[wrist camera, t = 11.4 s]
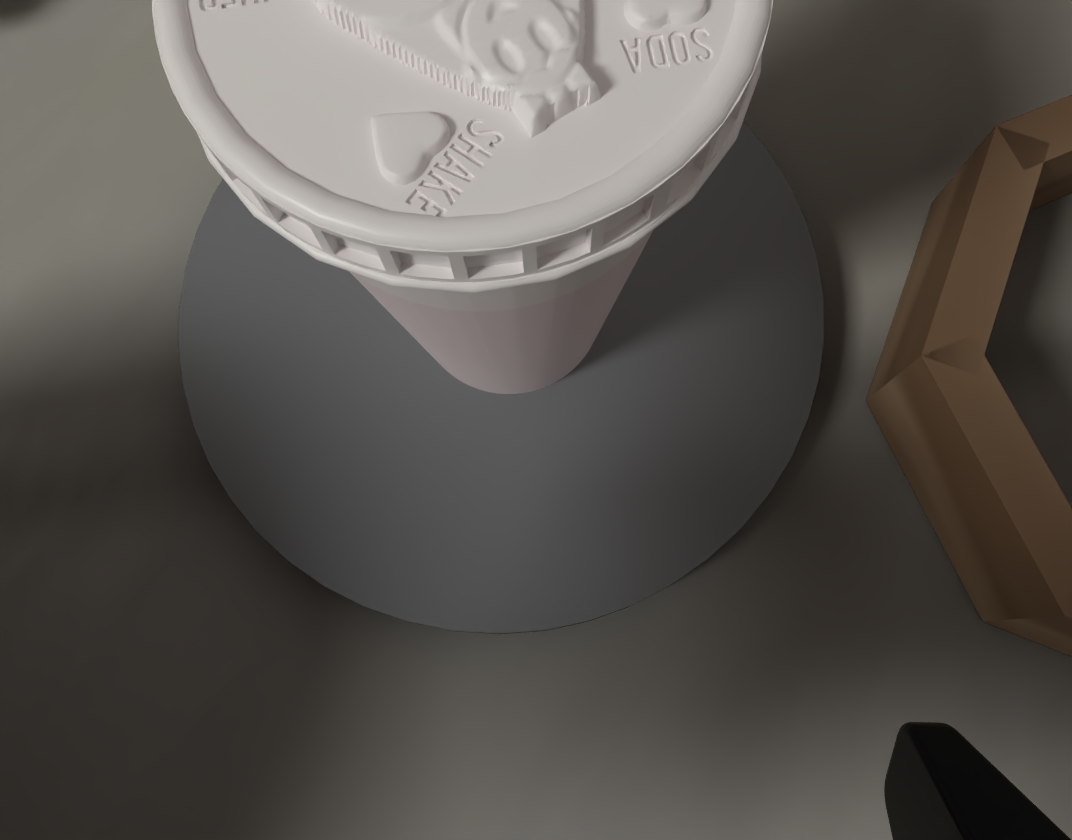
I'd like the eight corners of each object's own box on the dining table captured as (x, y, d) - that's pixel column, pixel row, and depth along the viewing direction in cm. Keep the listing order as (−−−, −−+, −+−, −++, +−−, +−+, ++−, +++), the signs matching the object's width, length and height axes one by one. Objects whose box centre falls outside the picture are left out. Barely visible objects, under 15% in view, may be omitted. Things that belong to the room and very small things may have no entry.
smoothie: (560, 110, 20) (565, -1100, 6) (733, 353, 18) (1242, -503, 5) (295, 260, 19) (-372, -724, 5) (453, 525, 18) (93, 105, 4)
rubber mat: (315, 741, 18) (301, 747, 17) (122, 176, 21) (101, 152, 20) (924, 479, 19) (943, 469, 18) (653, -27, 22) (658, -59, 21)
